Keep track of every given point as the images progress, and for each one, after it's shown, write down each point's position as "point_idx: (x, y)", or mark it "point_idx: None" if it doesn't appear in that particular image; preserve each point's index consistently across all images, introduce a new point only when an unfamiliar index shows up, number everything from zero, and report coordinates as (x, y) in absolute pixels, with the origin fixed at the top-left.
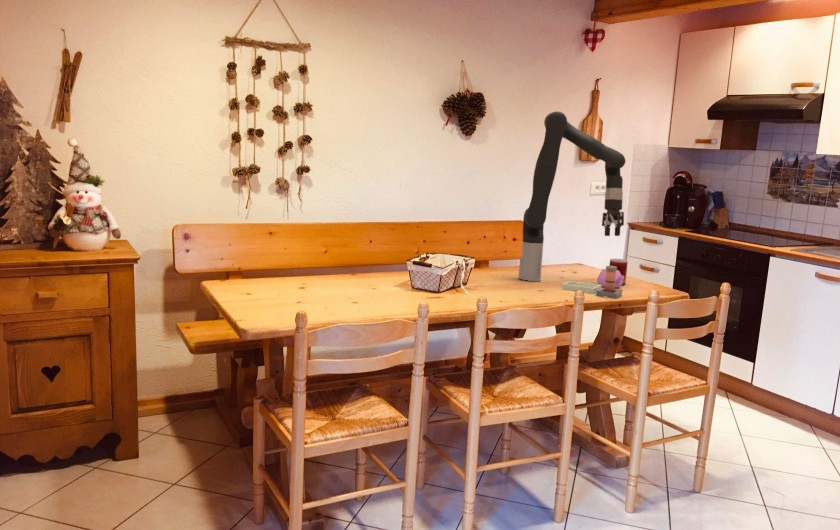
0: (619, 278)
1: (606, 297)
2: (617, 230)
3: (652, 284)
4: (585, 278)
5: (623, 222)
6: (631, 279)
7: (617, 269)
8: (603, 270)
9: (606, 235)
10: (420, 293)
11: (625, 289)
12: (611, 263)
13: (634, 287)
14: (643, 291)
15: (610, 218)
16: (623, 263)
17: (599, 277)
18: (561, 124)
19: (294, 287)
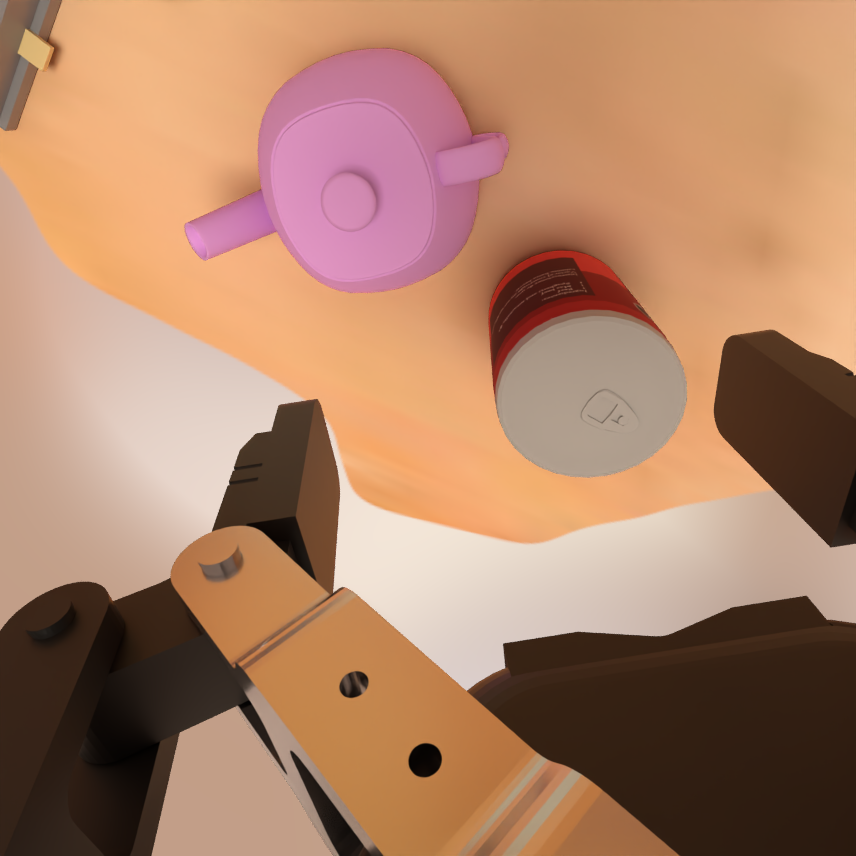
0: (208, 214)
1: None
2: (230, 497)
3: (537, 542)
4: (840, 116)
5: (69, 798)
6: (716, 493)
7: (502, 329)
8: (345, 101)
9: (726, 357)
10: None
11: (346, 292)
12: (570, 304)
13: (429, 391)
14: (296, 391)
15: (750, 763)
16: (496, 405)
17: (356, 55)
18: None
19: None
